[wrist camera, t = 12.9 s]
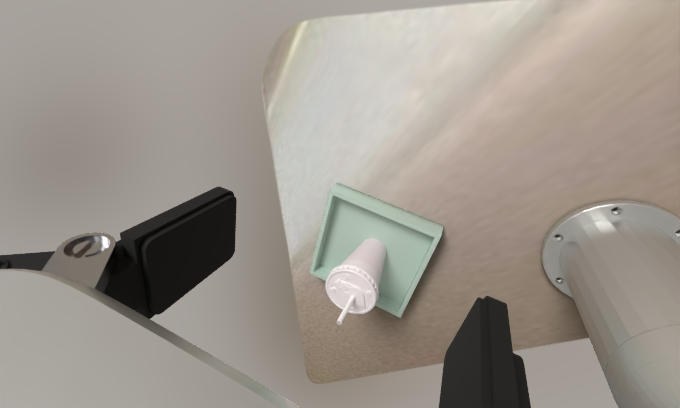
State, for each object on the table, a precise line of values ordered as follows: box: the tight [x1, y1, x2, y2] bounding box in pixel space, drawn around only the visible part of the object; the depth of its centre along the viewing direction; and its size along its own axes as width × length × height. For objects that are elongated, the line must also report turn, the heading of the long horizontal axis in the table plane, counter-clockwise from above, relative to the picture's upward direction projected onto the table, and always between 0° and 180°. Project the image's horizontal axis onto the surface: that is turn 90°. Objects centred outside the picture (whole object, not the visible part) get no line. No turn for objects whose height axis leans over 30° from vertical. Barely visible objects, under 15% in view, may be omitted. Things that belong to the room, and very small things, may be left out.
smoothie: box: [326, 238, 386, 325], centre depth 37 cm, size 6×6×14 cm
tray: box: [309, 183, 443, 318], centre depth 43 cm, size 15×15×3 cm
